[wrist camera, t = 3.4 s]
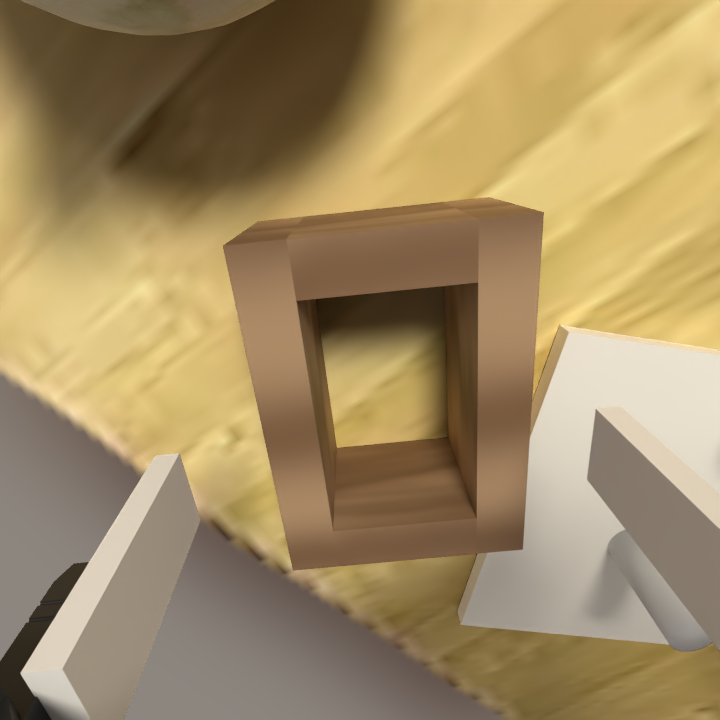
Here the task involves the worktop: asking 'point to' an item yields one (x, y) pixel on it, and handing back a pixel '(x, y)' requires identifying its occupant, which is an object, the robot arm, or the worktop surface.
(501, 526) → the frame
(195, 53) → the worktop surface
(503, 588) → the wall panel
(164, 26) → the sugar bowl
